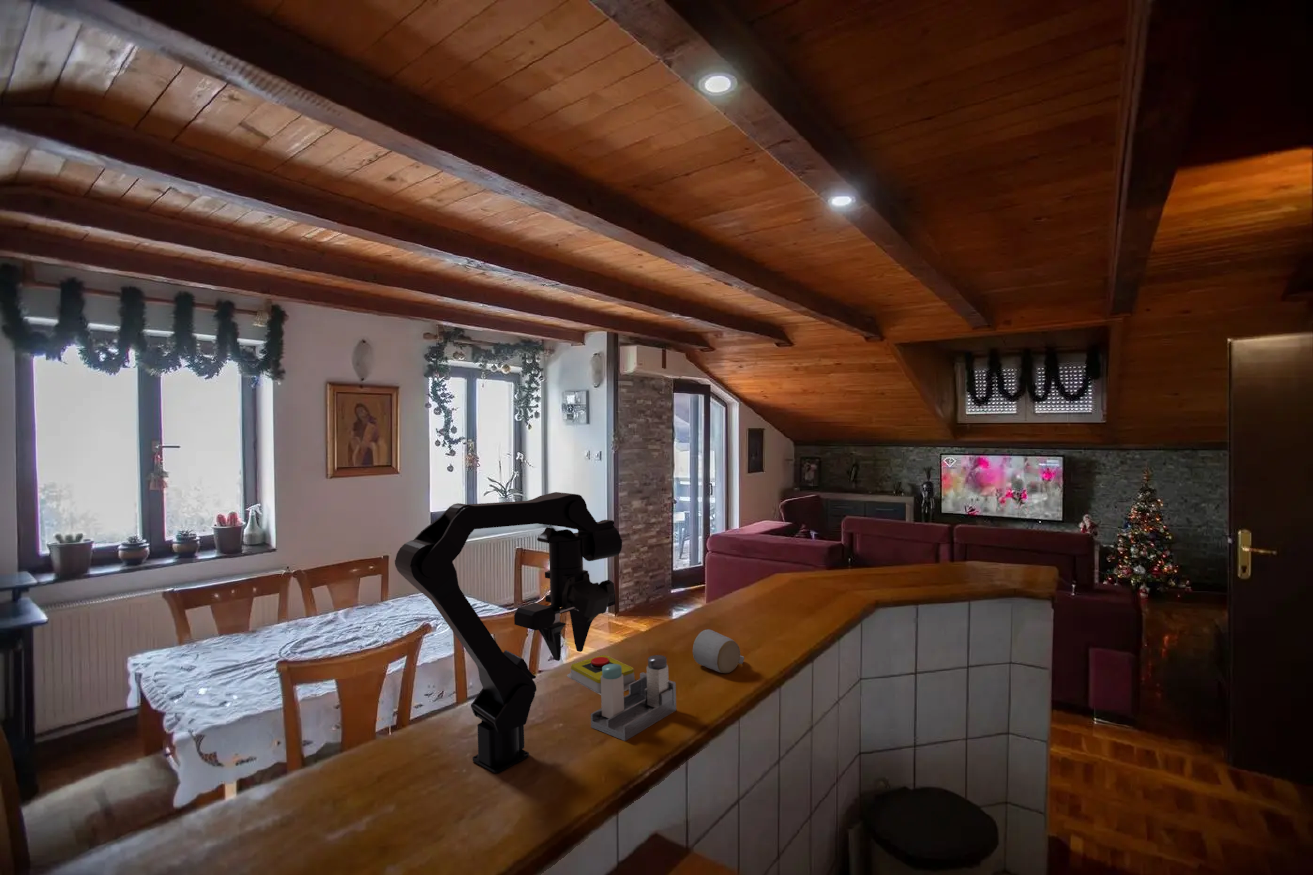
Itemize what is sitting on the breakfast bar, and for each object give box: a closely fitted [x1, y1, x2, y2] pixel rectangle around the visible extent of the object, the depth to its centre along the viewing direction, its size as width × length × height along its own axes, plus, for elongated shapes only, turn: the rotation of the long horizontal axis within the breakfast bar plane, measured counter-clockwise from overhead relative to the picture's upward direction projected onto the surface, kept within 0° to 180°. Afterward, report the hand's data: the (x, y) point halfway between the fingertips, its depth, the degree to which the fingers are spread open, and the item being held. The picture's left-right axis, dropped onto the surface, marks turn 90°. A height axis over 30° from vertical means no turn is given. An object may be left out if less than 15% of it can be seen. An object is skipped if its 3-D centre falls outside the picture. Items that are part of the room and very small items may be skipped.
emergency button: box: [566, 654, 637, 696], centre depth 128 cm, size 9×4×15 cm
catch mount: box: [590, 654, 677, 742], centre depth 110 cm, size 14×8×10 cm, turn 141°
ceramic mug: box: [692, 629, 745, 674], centre depth 133 cm, size 11×8×8 cm
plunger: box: [600, 664, 625, 718], centre depth 108 cm, size 3×3×8 cm
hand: (568, 655), depth 106 cm, fingers open, 5 cm apart
